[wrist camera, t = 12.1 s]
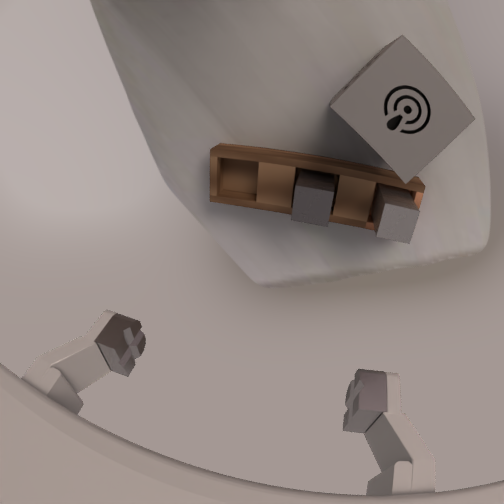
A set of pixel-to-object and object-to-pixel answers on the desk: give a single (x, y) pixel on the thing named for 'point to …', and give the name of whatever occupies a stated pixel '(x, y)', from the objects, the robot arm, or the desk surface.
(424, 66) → the icon cube
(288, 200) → the wooden compartment tray
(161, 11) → the desk surface
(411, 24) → the desk surface
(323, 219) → the block
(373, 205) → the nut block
